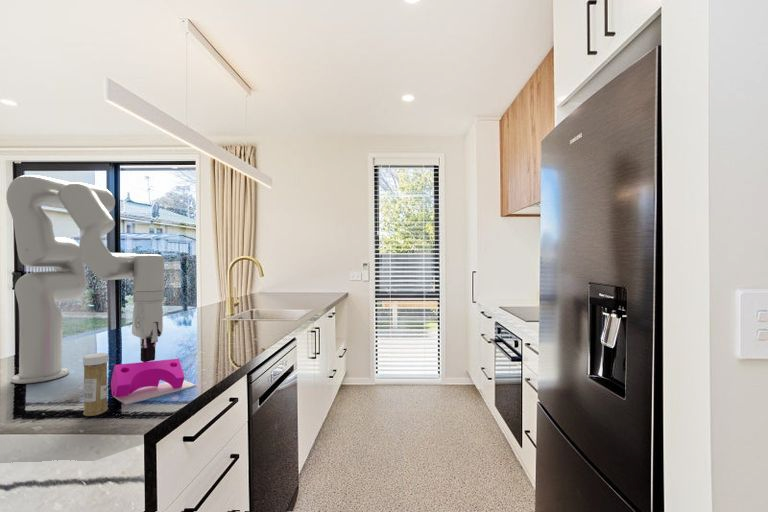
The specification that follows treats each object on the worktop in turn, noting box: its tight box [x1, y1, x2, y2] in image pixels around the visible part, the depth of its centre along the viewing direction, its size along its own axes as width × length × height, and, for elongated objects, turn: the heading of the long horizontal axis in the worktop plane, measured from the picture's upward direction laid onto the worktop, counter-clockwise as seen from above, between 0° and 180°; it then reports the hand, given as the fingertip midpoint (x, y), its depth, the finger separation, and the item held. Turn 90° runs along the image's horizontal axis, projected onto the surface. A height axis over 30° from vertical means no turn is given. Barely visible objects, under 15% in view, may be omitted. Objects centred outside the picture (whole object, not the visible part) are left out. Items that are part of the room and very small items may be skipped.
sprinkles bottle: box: [82, 352, 109, 417], centre depth 87 cm, size 5×5×14 cm
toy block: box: [110, 358, 185, 397], centre depth 100 cm, size 15×6×8 cm
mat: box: [112, 379, 197, 406], centre depth 101 cm, size 9×17×1 cm, turn 142°
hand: (147, 360), depth 108 cm, fingers closed
